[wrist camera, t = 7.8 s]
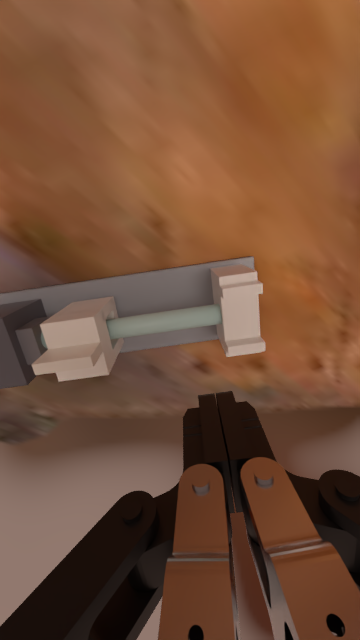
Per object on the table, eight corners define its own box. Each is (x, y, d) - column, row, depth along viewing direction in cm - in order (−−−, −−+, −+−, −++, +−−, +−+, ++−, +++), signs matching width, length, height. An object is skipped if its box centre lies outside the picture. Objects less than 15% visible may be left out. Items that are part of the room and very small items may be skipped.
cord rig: (251, 256, 26) (278, 264, 19) (255, 330, 28) (281, 361, 22) (-4, 294, 27) (-66, 315, 20) (22, 363, 29) (-25, 403, 22)
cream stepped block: (113, 296, 25) (82, 328, 17) (124, 342, 26) (100, 392, 18) (72, 302, 25) (21, 337, 17) (85, 347, 27) (44, 400, 18)
